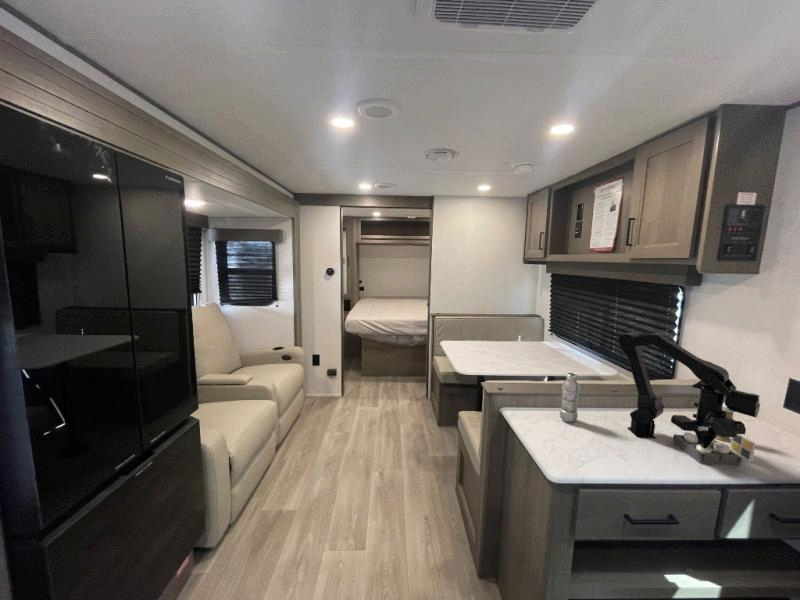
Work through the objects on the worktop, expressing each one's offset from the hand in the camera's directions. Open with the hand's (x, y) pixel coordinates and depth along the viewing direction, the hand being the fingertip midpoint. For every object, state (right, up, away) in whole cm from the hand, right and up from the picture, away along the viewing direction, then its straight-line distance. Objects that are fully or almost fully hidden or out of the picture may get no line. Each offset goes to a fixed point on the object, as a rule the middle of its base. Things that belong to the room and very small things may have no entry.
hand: (703, 447), depth 104 cm
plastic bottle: (-32, -1, +24) cm, 41 cm away
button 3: (+6, -1, +5) cm, 8 cm away
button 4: (+5, -1, 0) cm, 6 cm away
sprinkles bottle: (+19, -3, +12) cm, 22 cm away
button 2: (0, -2, 0) cm, 2 cm away
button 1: (+1, 0, +5) cm, 5 cm away
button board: (+3, -3, +3) cm, 5 cm away
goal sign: (+14, -4, +2) cm, 15 cm away
